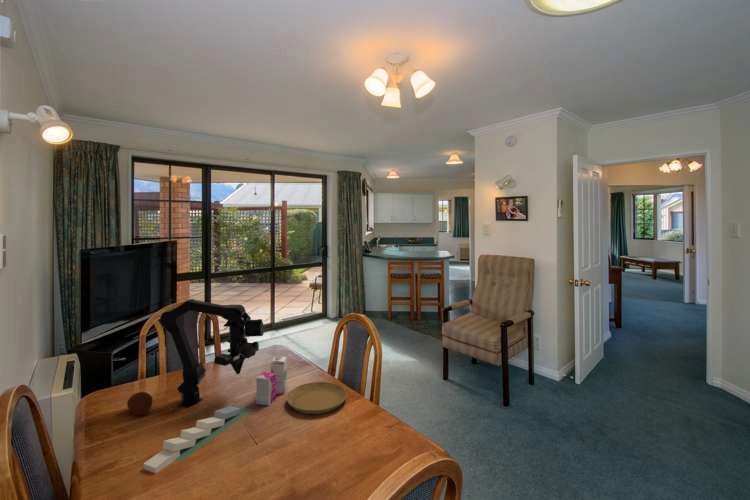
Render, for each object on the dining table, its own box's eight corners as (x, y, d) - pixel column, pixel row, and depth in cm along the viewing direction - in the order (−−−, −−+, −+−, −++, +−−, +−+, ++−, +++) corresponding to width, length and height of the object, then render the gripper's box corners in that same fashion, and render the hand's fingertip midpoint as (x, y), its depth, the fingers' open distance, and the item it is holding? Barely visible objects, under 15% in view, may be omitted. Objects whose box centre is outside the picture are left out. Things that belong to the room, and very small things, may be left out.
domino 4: (213, 422, 126) (195, 426, 119) (214, 416, 127) (196, 420, 120) (223, 425, 125) (206, 429, 117) (225, 419, 125) (207, 423, 118)
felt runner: (157, 455, 109) (157, 454, 109) (232, 405, 139) (232, 405, 139) (180, 462, 105) (180, 461, 105) (252, 410, 135) (252, 409, 135)
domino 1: (168, 452, 110) (144, 469, 102) (168, 446, 109) (143, 463, 102) (180, 455, 108) (156, 474, 100) (179, 449, 108) (155, 467, 100)
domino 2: (183, 442, 115) (162, 447, 107) (184, 435, 115) (163, 440, 108) (194, 445, 113) (173, 451, 106) (196, 439, 113) (175, 444, 106)
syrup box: (273, 388, 154) (273, 356, 153) (287, 387, 154) (286, 356, 153) (271, 394, 148) (270, 361, 147) (285, 394, 148) (284, 361, 147)
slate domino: (229, 411, 134) (213, 416, 127) (230, 405, 134) (214, 411, 127) (240, 413, 132) (224, 419, 125) (240, 408, 133) (225, 413, 125)
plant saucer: (335, 384, 158) (335, 377, 158) (355, 409, 136) (355, 401, 136) (281, 395, 148) (281, 387, 148) (293, 424, 126) (293, 415, 126)
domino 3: (199, 431, 121) (179, 437, 113) (200, 425, 121) (181, 430, 114) (210, 435, 119) (191, 440, 112) (211, 428, 119) (192, 433, 112)
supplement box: (269, 406, 138) (269, 379, 137) (256, 405, 139) (255, 377, 138) (276, 399, 144) (276, 372, 143) (263, 398, 145) (262, 371, 144)
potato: (142, 403, 140) (141, 384, 140) (160, 410, 135) (159, 391, 135) (121, 413, 134) (120, 393, 133) (139, 420, 128) (138, 399, 128)
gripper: (234, 346, 129) (235, 387, 130) (268, 332, 146) (269, 368, 147) (212, 342, 133) (213, 381, 135) (247, 329, 151) (248, 364, 152)
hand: (238, 373), depth 142 cm, fingers closed
